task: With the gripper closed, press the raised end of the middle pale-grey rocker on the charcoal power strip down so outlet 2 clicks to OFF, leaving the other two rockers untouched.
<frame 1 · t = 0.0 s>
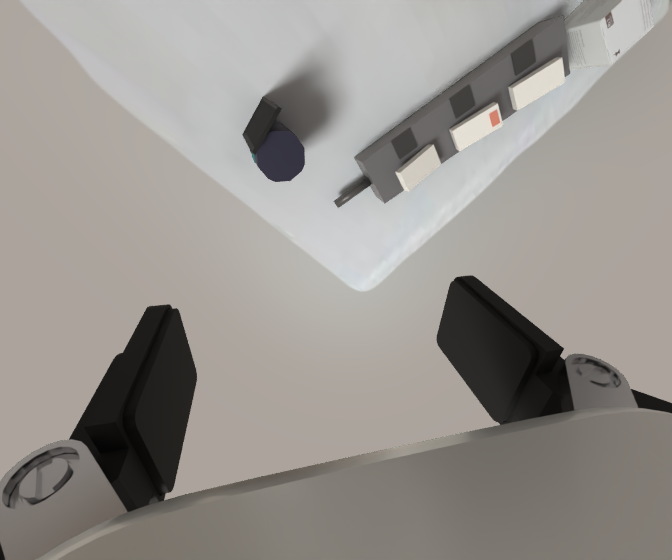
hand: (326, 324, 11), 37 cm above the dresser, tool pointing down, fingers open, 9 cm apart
speaker: (273, 137, 41), on the dresser
skincare box: (573, 35, 43), on the dresser
rocker 1: (418, 167, 41), point 6 cm above the dresser, hinge at -12.0°
rocker 3: (536, 84, 39), point 6 cm above the dresser, hinge at 12.0°
power strip: (450, 116, 44), on the dresser
rocker 2: (476, 127, 40), point 6 cm above the dresser, hinge at 12.0°
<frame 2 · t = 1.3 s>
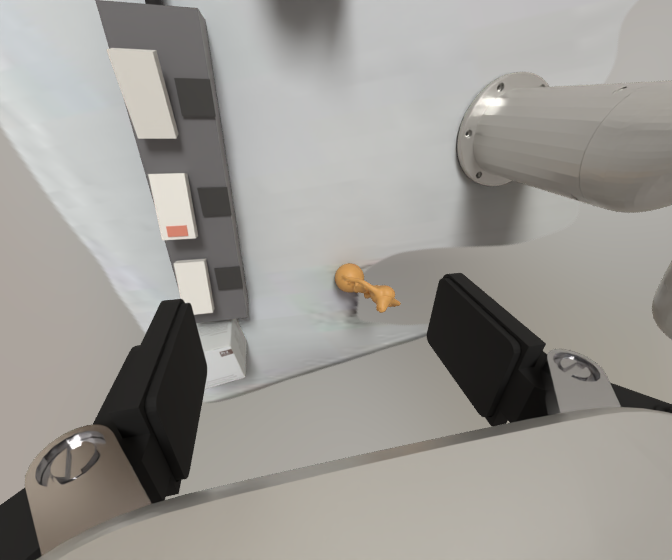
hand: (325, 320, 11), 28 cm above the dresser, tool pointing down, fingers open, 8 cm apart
figurine: (349, 265, 43), on the dresser
skincare box: (220, 330, 44), on the dresser
rocker 1: (146, 96, 24), point 6 cm above the dresser, hinge at -12.0°
rocker 3: (195, 287, 33), point 6 cm above the dresser, hinge at 12.0°
power strip: (198, 192, 34), on the dresser
rocker 2: (174, 207, 29), point 6 cm above the dresser, hinge at 12.0°
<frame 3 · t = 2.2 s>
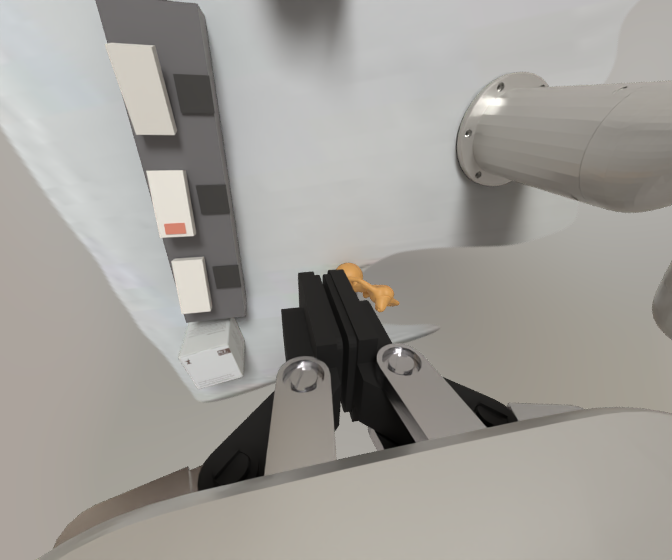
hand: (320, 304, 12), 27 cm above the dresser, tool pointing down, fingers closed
figurine: (348, 264, 43), on the dresser
skincare box: (218, 329, 44), on the dresser
rocker 1: (145, 92, 24), point 5 cm above the dresser, hinge at -12.0°
rocker 3: (192, 285, 33), point 5 cm above the dresser, hinge at 12.0°
power strip: (197, 189, 33), on the dresser
rocker 2: (172, 204, 29), point 6 cm above the dresser, hinge at 12.0°
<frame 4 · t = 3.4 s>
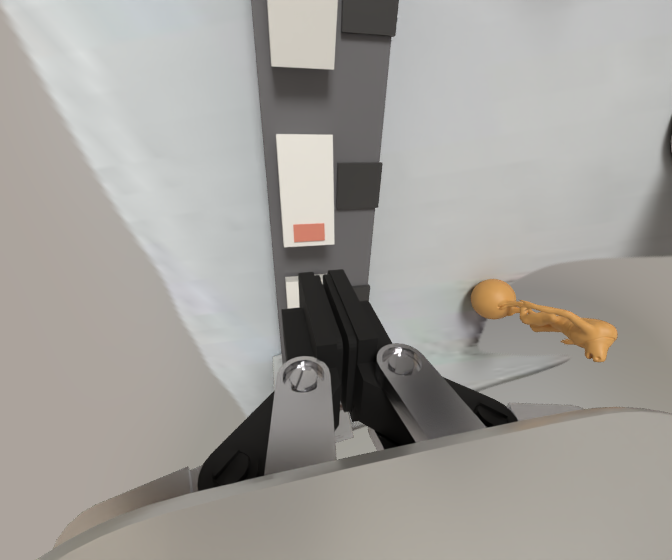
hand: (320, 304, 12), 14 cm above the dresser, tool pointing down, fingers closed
figurine: (486, 280, 31), on the dresser
skincare box: (306, 365, 33), on the dresser
rocker 3: (309, 316, 22), point 6 cm above the dresser, hinge at 12.0°
power strip: (315, 173, 22), on the dresser
rocker 2: (306, 192, 17), point 6 cm above the dresser, hinge at 12.0°
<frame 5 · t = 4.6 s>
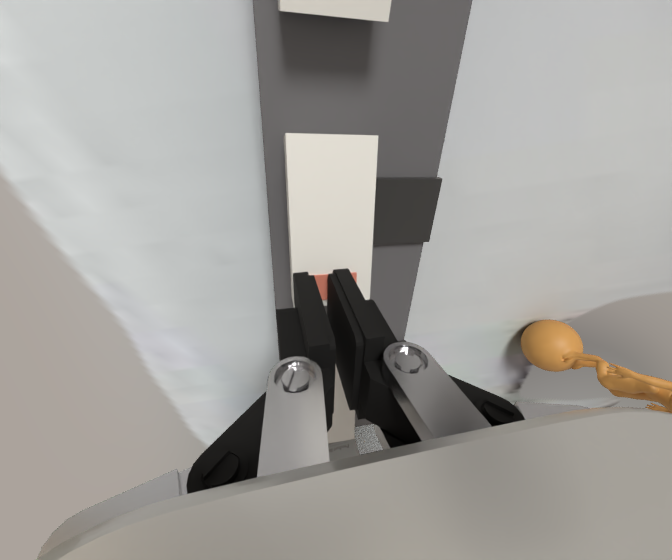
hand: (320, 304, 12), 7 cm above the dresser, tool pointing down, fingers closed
figurine: (539, 319, 25), on the dresser
skincare box: (313, 421, 26), on the dresser
rocker 3: (324, 389, 16), point 5 cm above the dresser, hinge at 12.0°
power strip: (334, 188, 16), on the dresser
rocker 2: (330, 225, 11), point 6 cm above the dresser, hinge at 9.4°, touching gripper
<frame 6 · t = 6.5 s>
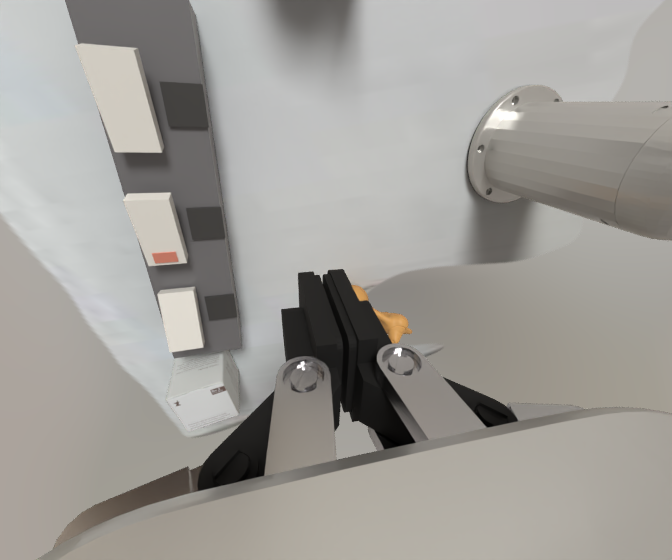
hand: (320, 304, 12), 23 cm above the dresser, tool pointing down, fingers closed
figurine: (352, 286, 40), on the dresser
skincare box: (209, 360, 39), on the dresser
rocker 1: (125, 103, 20), point 5 cm above the dresser, hinge at -12.0°
rocker 3: (182, 319, 29), point 5 cm above the dresser, hinge at 12.0°
power strip: (186, 210, 29), on the dresser
rocker 2: (159, 231, 25), point 6 cm above the dresser, hinge at -10.9°
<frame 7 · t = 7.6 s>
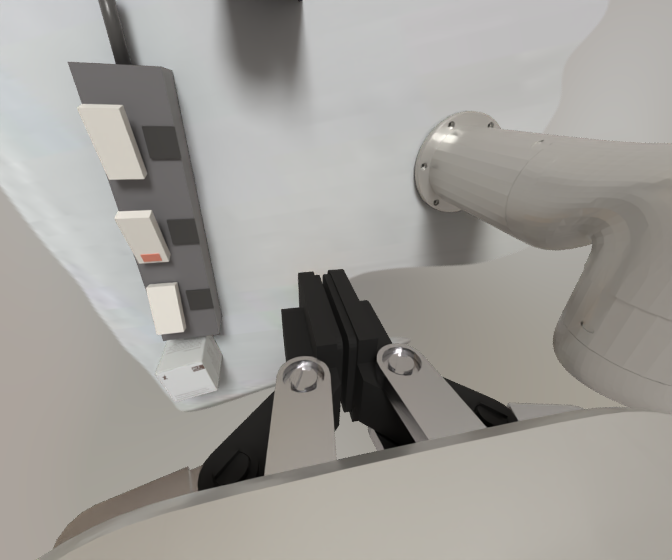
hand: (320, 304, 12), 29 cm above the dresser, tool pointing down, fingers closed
skincare box: (196, 344, 46), on the dresser
rocker 1: (115, 144, 27), point 6 cm above the dresser, hinge at -12.0°
rocker 3: (167, 308, 36), point 6 cm above the dresser, hinge at 12.0°
power strip: (171, 220, 36), on the dresser
rocker 2: (145, 238, 31), point 6 cm above the dresser, hinge at -18.2°, touching power strip
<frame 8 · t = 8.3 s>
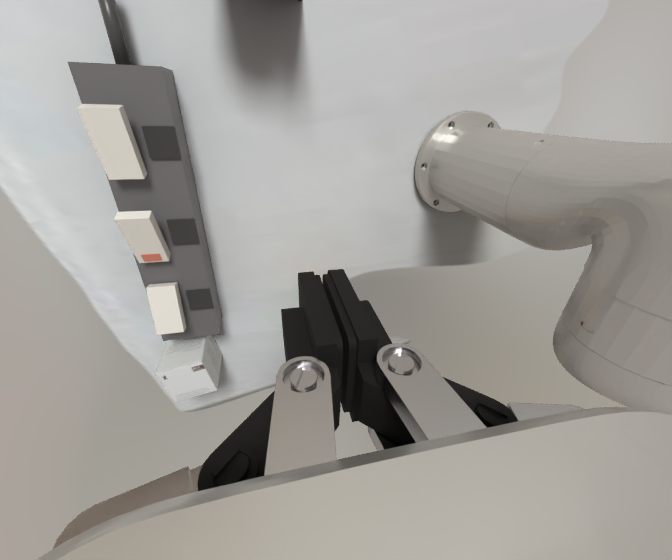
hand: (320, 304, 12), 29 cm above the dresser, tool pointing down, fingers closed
skincare box: (196, 344, 46), on the dresser
rocker 1: (115, 144, 27), point 5 cm above the dresser, hinge at -12.0°
rocker 3: (167, 308, 36), point 5 cm above the dresser, hinge at 12.0°
power strip: (171, 220, 36), on the dresser
rocker 2: (145, 238, 31), point 6 cm above the dresser, hinge at -20.0°, touching power strip
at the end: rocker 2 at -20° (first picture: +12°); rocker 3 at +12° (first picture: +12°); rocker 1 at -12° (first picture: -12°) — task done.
